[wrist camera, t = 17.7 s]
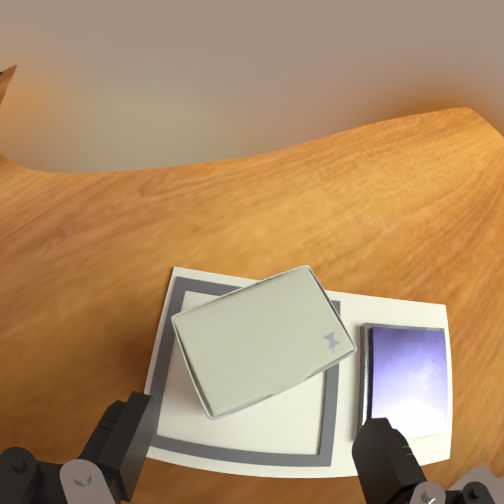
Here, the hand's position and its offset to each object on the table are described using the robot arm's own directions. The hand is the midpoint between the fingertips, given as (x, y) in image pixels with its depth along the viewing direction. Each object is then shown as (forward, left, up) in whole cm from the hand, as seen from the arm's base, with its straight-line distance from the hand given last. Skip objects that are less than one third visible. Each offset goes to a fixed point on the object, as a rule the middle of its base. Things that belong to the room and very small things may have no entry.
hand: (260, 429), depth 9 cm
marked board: (+6, +4, -12) cm, 14 cm away
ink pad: (+14, +4, -12) cm, 18 cm away
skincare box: (0, +4, -11) cm, 12 cm away
